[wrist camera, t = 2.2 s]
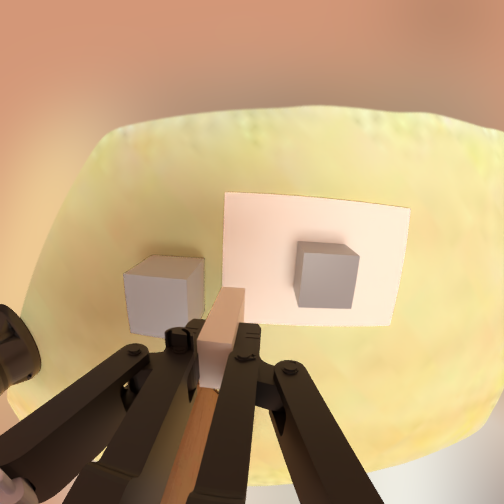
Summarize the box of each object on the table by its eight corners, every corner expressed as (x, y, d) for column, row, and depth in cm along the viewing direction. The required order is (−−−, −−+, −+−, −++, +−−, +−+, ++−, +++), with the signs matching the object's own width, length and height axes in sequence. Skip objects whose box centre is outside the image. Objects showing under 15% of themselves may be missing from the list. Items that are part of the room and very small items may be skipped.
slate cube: (155, 304, 31) (130, 332, 24) (152, 254, 29) (123, 273, 22) (204, 309, 30) (189, 341, 24) (204, 258, 29) (186, 279, 22)
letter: (222, 319, 30) (221, 320, 30) (225, 191, 27) (224, 191, 27) (388, 324, 30) (389, 325, 29) (409, 208, 26) (410, 208, 26)
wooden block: (155, 400, 34) (105, 506, 15) (205, 377, 33) (164, 511, 13) (200, 437, 36) (174, 540, 17) (250, 419, 34) (240, 541, 15)
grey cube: (293, 287, 29) (298, 307, 24) (297, 240, 28) (304, 252, 23) (338, 289, 29) (351, 308, 24) (344, 244, 27) (359, 256, 23)
